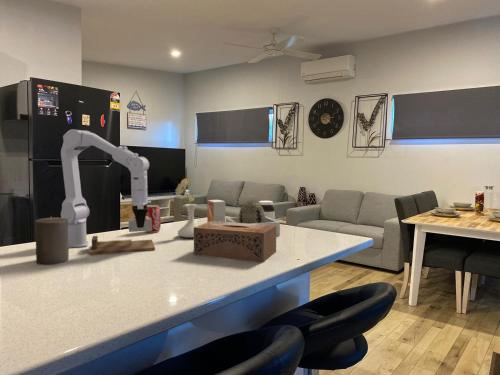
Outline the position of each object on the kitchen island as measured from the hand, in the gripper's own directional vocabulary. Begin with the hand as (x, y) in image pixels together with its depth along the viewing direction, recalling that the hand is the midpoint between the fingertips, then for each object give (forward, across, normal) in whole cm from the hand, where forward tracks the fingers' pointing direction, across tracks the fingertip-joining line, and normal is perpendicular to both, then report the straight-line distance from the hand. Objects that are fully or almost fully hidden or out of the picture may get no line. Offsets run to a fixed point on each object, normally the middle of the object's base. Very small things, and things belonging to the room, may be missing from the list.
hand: (140, 225), depth 145 cm
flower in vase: (+9, +14, -21) cm, 27 cm away
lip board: (+8, +2, +6) cm, 11 cm away
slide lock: (+2, 0, 0) cm, 2 cm away
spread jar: (+9, +35, -60) cm, 70 cm away
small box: (+9, +32, -36) cm, 50 cm away
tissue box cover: (+9, -18, -32) cm, 38 cm away
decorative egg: (+9, +14, -49) cm, 52 cm away
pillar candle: (+9, -9, +28) cm, 31 cm away
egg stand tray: (+8, +14, -49) cm, 52 cm away
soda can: (+9, +30, -6) cm, 32 cm away
